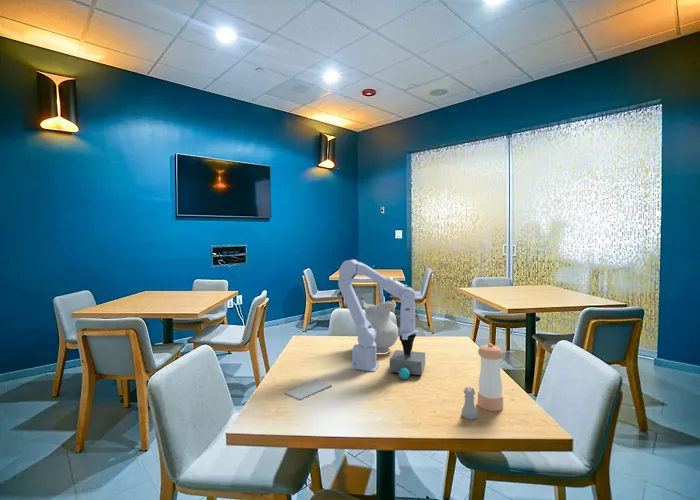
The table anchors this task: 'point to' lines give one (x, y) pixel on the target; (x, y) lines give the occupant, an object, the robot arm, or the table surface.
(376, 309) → the ceramic pitcher
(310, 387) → the smartphone
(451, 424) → the table surface
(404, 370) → the ball
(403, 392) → the table surface
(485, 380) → the pepper shaker
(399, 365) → the gray square knob slab
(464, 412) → the rook chess piece
